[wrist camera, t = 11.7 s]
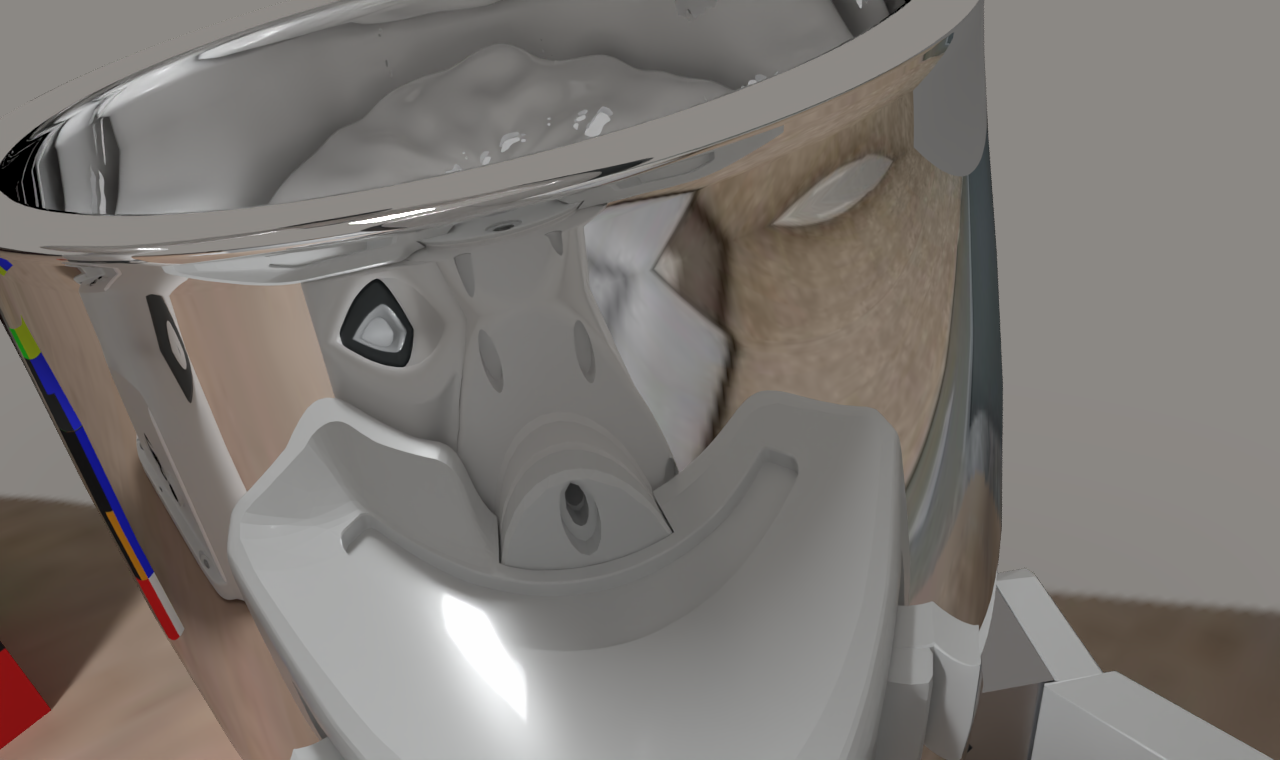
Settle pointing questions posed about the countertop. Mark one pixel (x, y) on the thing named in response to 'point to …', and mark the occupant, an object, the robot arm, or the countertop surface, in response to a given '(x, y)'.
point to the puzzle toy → (17, 700)
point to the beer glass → (536, 369)
